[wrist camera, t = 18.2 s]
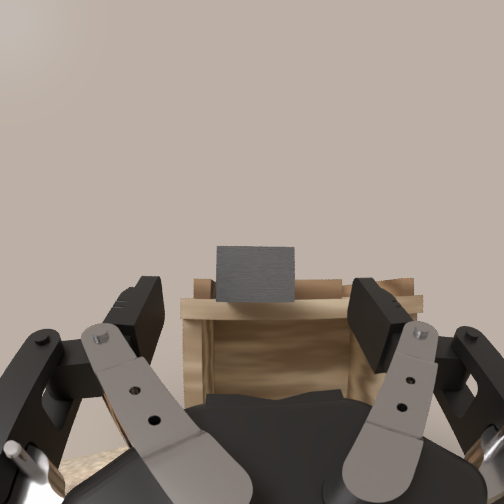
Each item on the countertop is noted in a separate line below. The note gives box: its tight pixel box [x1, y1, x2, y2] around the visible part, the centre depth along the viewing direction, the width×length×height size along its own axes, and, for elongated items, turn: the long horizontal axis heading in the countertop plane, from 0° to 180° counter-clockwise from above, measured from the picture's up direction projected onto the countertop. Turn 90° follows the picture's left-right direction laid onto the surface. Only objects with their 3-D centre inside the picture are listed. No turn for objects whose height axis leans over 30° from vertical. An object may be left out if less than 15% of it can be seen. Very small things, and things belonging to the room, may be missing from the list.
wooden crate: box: [180, 278, 423, 409], centre depth 29 cm, size 16×20×32 cm
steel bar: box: [216, 246, 295, 303], centre depth 26 cm, size 24×4×2 cm, turn 3°
